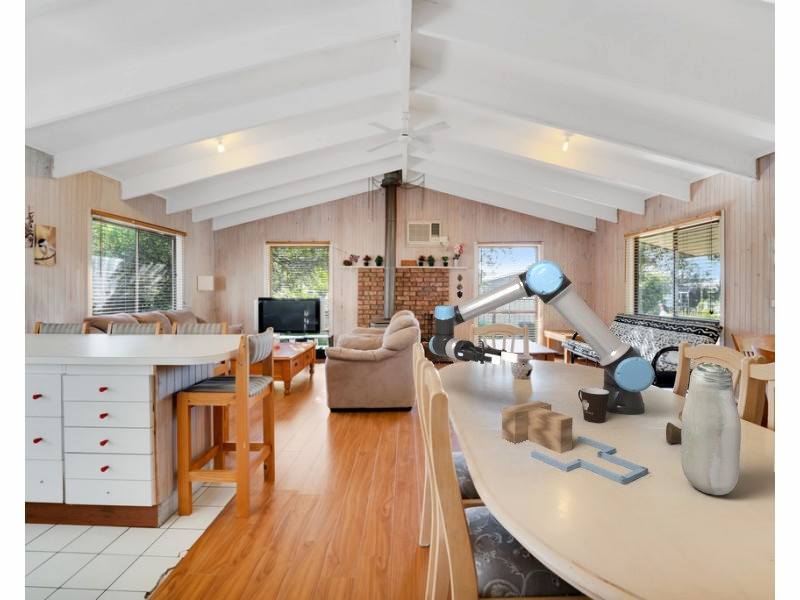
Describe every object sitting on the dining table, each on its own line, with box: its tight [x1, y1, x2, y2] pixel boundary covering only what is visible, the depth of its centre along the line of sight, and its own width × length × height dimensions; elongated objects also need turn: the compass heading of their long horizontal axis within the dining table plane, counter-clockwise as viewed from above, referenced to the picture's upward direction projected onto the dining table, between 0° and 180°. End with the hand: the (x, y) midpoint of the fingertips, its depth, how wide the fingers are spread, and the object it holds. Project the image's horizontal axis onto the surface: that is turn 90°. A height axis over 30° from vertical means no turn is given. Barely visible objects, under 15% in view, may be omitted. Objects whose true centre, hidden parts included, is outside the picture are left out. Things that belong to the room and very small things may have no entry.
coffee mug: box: [577, 387, 609, 424], centre depth 138 cm, size 12×9×10 cm
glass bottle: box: [680, 363, 742, 496], centre depth 89 cm, size 10×10×28 cm
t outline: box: [530, 435, 649, 485], centre depth 104 cm, size 22×21×1 cm
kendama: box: [665, 421, 682, 445], centre depth 112 cm, size 6×10×20 cm
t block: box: [501, 400, 574, 454], centre depth 117 cm, size 16×16×9 cm
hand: (508, 359), depth 128 cm, fingers open, 7 cm apart
